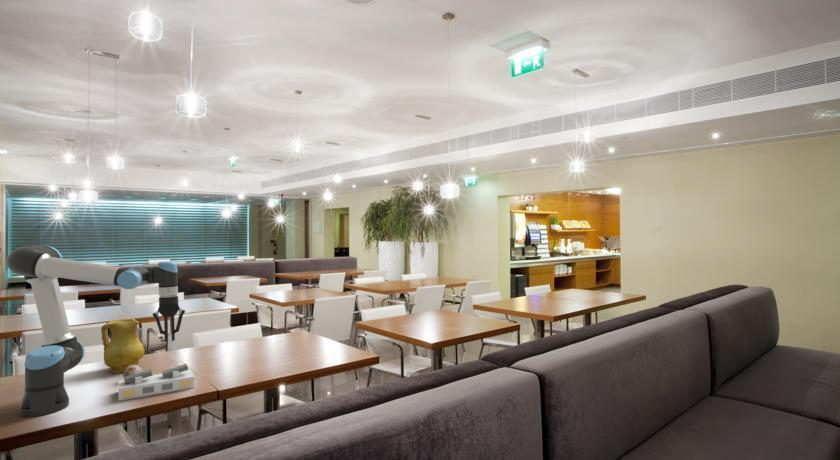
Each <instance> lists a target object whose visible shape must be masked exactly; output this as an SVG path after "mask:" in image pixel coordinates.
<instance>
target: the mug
mask: <svg viewBox="0 0 840 460" xmlns="http://www.w3.org/2000/svg"><path fill="white" fill-rule="evenodd" d="M143 371H144V370H143V369H142V367H140V366H139V365H138V364H137V365H130V366H128V367H127V368H126V370H125V371H124V372H123V374H122V377H123V378H124V377H125V376H129V375H132V374H135V373H138V372H143Z"/></svg>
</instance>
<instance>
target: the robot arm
mask: <svg viewBox="0 0 840 460" xmlns="http://www.w3.org/2000/svg"><path fill="white" fill-rule="evenodd" d="M6 265H7V268H8V269H9V271H11V272H12V273H13V274H16V275H18V276H23V277H24V281H25V282H27V283H28V284H30V285H31V290H32V293H33V297H34V302H35V307H36V309H37V314H38V317H39V321H40V326H41V329H42V333H43V338H44V340H43V341H42V343H41V344H40V346H41V347H38V348H34V349H32V350H30V351H29V352H27V354H26V355H25V359H24V395H23V396H22V398H21V401H20V403H19V406H18V416H21V417H26V418H27V417H39V416H44V415H49V414H52V413H53V414H54V413H56V412H60V411H62V410H63V409H65V408H67V407H68V406H69V405H70V397H69V396H68V393H67V390H66V388H65V386H64V385H65V384H64V383H65V377H64V376H65V373H66V372H68V371H70V370H72V369H73V368H75V367H77V366H78V364H80V363H81V361H82V360H83V359H84V357H85V355H86V354H85V353H86V352H85V351H86V350H85V349H86V348H85V347H84V345H83V343H81V342H79V340H78V339H77V335H76V334H74V333H72V332H71V329H70V325H69V320H68V317H67V313H66V312H67V311H66V307H65V304H64V300H63V296H62V293H61V287H60V285H59V281H58V278H61V279H67V280H74V281H81V282H86V283H87V282H89V283H94V284H96V283H97V284H101V285H110V286H115V287H120V288H121V289H124V290H132V289H133V290H134V289H136V288H138V287H141V286H143V285H151V284H153V285H154V284H158V296H159V298H158V307H157V310H156V311H155V312H153V313H152V316H153V318H154V319H155V321H156V322H155V323H156V325H157V327H158V331H159V333H160V335H164V341H165V343H167V350H172V349H173V342H174V341H175V340H176V339H175V338H176V337H175V334H176V333H178V332H179V331H180V328H181V325H182V320H183V316H184V314H185V313H186V310H185V309H183V308H180V305H179V296H178V295H179V286H178V272H179V270H178V263H177V262H176V261H173V260H172V261H160V262H157V266H145V267H144V266H141V267H140V266H136V267H129V268H124V267H117V266H111V265H105V264H98V263H94V262H93V263H92V262H86V261H80V260H74V259H67V258H63V256H62V253H61V252H60V251H59V250H58V249H57V248H55V247H53V246H50V245H43V244H40V245H32V246H31V245H30V246H20V247H18V248H16V249H14V250H12V251H11V252H10V253H9V254H8V256H7V258H6ZM176 314H178V318H177V322H176V327H175V316H176ZM160 315H161V316H162V317H163V323H164V324H163V325H164V330H163V326H162V324H161V321H160V318H159V316H160ZM169 317H170V333H169V327H168V326H169V323H168V322H169V321H168V318H169Z"/></svg>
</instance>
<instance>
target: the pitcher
mask: <svg viewBox="0 0 840 460" xmlns="http://www.w3.org/2000/svg"><path fill="white" fill-rule="evenodd" d="M139 323H140V322H139V321H138V320H136V319H135V318H125V319H124V318H123V319H116V320H115V319H114V320H112V321H108V322H107V323H105V324H103V325H102V326H101V329H100V332H101V333H100V334H101V340H102V345H103V362H104V365H105V366H106V367H108V368H110V369H109V370H108V371H109V373H110V372H111V374H122V373H123V374H124V371H125V370H126V368H127V367H128V366H130V365H137V366H138V364H139V363H140V360H141V359H142V358H143V357H144V356H145V348H144V347H145V346H144V345H143V343H142V342H141V340H140V338H139V336H138V325H139ZM108 330H110V332H111V336H110V339H109V333H108V332H109V331H108Z"/></svg>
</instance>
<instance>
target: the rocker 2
mask: <svg viewBox="0 0 840 460" xmlns="http://www.w3.org/2000/svg"><path fill="white" fill-rule="evenodd" d="M173 367H174V368H172V367H171V368H169V369H165V370H162V371H161V374H162V375H163V378H166V377H168V376H171V375H173V371H179V373H180V372H183V371H186V370H189V368H188V365H187V363H184V364H181V365H178V366H177V365H176V366H173Z"/></svg>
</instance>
